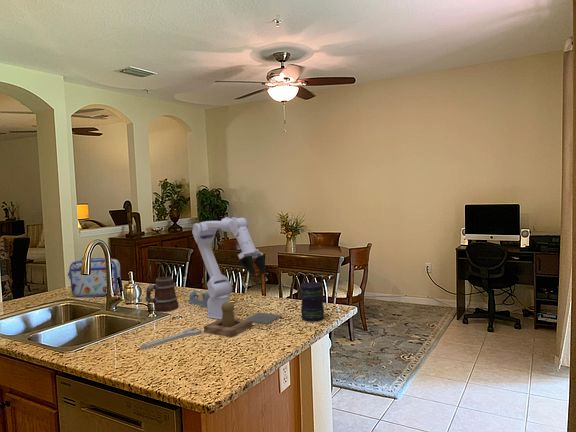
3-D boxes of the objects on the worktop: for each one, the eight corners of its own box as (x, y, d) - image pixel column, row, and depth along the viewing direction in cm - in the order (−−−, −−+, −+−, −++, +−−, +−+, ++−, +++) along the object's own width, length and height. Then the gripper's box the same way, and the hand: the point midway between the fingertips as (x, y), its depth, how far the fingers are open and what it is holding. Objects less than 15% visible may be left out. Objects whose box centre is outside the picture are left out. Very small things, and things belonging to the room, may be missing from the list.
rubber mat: (243, 320, 187) (243, 319, 187) (258, 313, 197) (258, 312, 197) (267, 324, 181) (267, 323, 181) (281, 316, 191) (281, 315, 191)
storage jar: (309, 313, 194) (308, 281, 193) (328, 317, 188) (327, 283, 187) (297, 319, 186) (295, 285, 185) (316, 323, 180) (315, 288, 179)
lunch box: (66, 298, 237) (63, 259, 236) (74, 294, 248) (72, 256, 246) (117, 296, 239) (114, 257, 237) (123, 292, 249) (121, 254, 248)
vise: (220, 303, 216) (219, 290, 216) (202, 308, 209) (202, 294, 209) (200, 298, 229) (199, 286, 229) (183, 302, 222) (182, 289, 221)
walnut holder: (204, 332, 173) (203, 326, 173) (225, 322, 185) (225, 316, 185) (232, 337, 166) (231, 331, 166) (252, 326, 178) (252, 320, 178)
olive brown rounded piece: (221, 327, 178) (220, 301, 178) (236, 326, 179) (235, 300, 178) (220, 332, 172) (219, 305, 172) (235, 331, 173) (234, 304, 172)
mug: (170, 303, 219) (169, 274, 218) (182, 308, 210) (181, 278, 209) (141, 310, 209) (139, 280, 208) (152, 315, 200) (150, 283, 199)
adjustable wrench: (142, 351, 156) (142, 346, 156) (135, 347, 161) (135, 342, 161) (203, 334, 172) (203, 329, 172) (195, 330, 177) (195, 326, 177)
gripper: (242, 239, 170) (255, 270, 166) (263, 239, 182) (275, 268, 178) (230, 247, 173) (242, 278, 169) (251, 247, 185) (263, 276, 181)
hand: (258, 273), depth 174 cm, fingers open, 7 cm apart
